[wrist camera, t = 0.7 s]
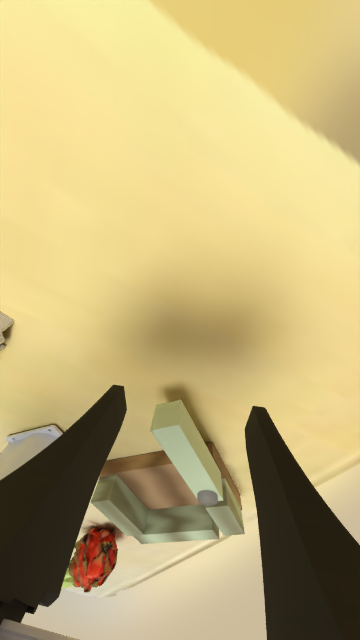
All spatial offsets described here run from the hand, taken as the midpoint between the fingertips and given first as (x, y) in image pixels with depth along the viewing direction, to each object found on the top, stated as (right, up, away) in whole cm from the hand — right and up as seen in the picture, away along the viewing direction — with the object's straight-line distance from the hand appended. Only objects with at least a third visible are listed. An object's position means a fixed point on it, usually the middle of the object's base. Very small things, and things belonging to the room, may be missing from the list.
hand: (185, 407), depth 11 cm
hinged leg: (+1, -10, +13) cm, 17 cm away
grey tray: (-1, -21, +21) cm, 30 cm away
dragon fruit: (-17, -40, +32) cm, 54 cm away
